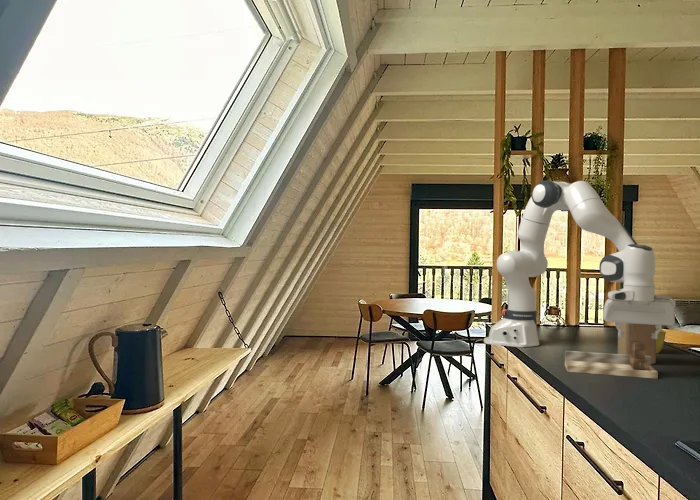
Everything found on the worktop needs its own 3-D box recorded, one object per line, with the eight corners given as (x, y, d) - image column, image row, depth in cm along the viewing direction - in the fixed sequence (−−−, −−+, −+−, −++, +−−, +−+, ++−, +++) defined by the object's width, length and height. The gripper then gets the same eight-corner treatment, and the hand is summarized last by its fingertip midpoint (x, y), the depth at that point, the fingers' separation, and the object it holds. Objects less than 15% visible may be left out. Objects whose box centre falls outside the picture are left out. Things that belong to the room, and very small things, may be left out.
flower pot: (660, 350, 206) (660, 328, 206) (665, 354, 198) (666, 331, 197) (635, 349, 209) (635, 326, 209) (639, 353, 200) (640, 330, 200)
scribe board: (567, 371, 169) (567, 356, 169) (564, 365, 178) (564, 350, 178) (657, 378, 161) (657, 362, 161) (650, 371, 170) (650, 356, 170)
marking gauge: (633, 369, 164) (634, 343, 164) (629, 364, 170) (629, 340, 170) (648, 370, 162) (648, 344, 162) (643, 365, 169) (643, 341, 169)
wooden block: (656, 365, 180) (657, 307, 180) (625, 363, 182) (626, 306, 182) (646, 359, 190) (646, 304, 190) (616, 357, 192) (617, 303, 192)
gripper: (672, 295, 166) (671, 338, 167) (602, 292, 173) (601, 333, 173) (678, 297, 160) (677, 341, 161) (605, 294, 167) (604, 336, 167)
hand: (637, 337), depth 167 cm, fingers open, 8 cm apart
